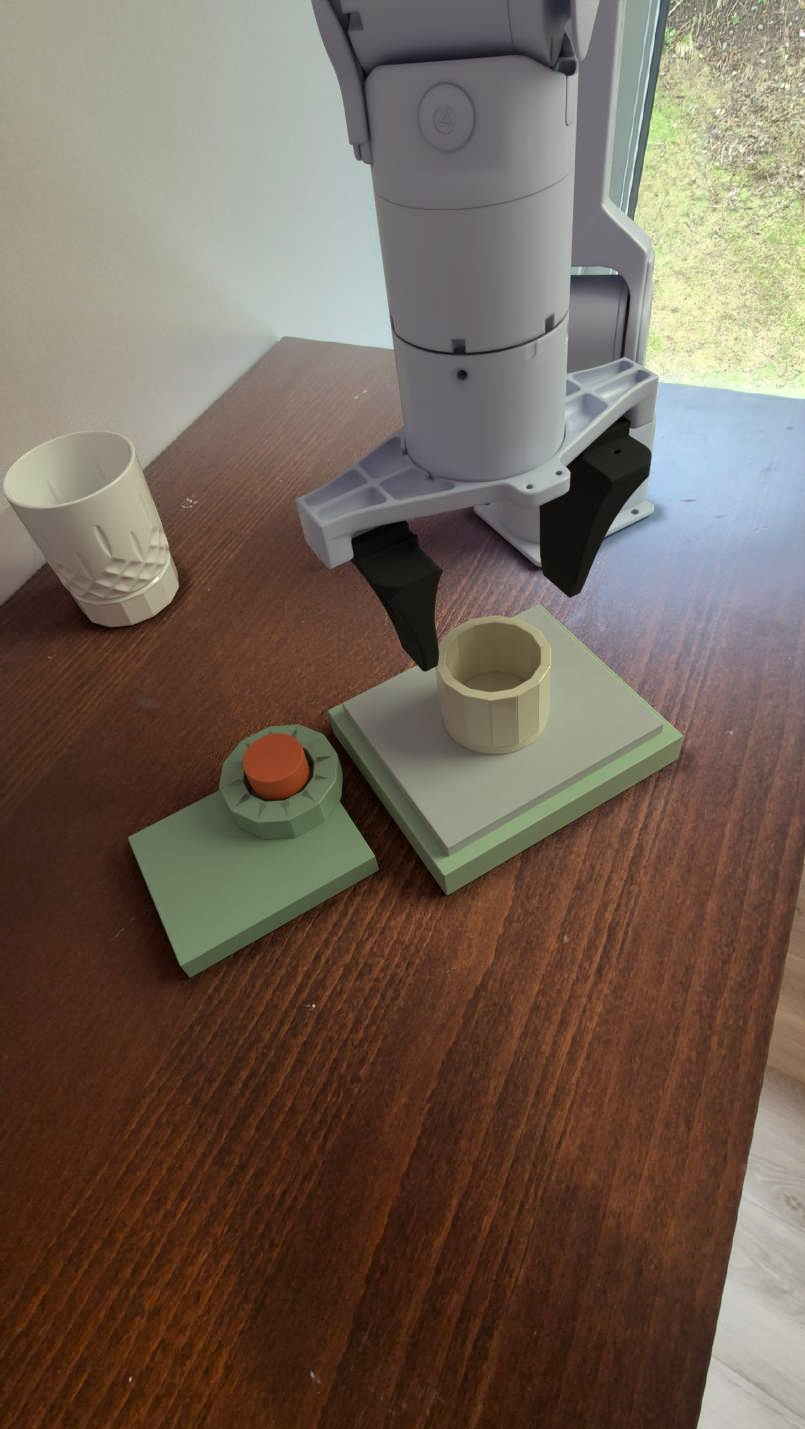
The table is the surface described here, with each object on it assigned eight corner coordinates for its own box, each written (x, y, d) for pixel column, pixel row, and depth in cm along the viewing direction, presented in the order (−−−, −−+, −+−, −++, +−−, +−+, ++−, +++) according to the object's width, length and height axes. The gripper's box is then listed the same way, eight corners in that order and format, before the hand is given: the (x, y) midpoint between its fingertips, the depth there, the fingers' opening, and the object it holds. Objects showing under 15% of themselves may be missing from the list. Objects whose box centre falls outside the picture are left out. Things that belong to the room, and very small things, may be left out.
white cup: (162, 638, 52) (99, 509, 45) (54, 631, 54) (-25, 506, 46) (204, 558, 57) (155, 429, 49) (104, 554, 59) (41, 429, 51)
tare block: (317, 742, 45) (305, 707, 43) (396, 860, 40) (388, 828, 38) (131, 837, 43) (109, 806, 40) (189, 978, 37) (167, 951, 35)
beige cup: (489, 657, 44) (486, 600, 41) (572, 707, 41) (575, 649, 38) (420, 717, 42) (411, 661, 39) (502, 774, 39) (499, 719, 36)
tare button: (294, 742, 42) (287, 723, 41) (319, 781, 40) (313, 763, 39) (241, 769, 41) (232, 750, 40) (264, 810, 40) (256, 792, 38)
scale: (538, 627, 49) (539, 592, 47) (678, 759, 42) (686, 725, 40) (333, 733, 46) (323, 700, 43) (446, 896, 38) (442, 867, 36)
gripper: (335, 449, 22) (396, 751, 32) (743, 277, 25) (681, 600, 36) (237, 354, 26) (319, 648, 37) (599, 218, 30) (580, 522, 40)
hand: (492, 618), depth 37 cm, fingers open, 7 cm apart
